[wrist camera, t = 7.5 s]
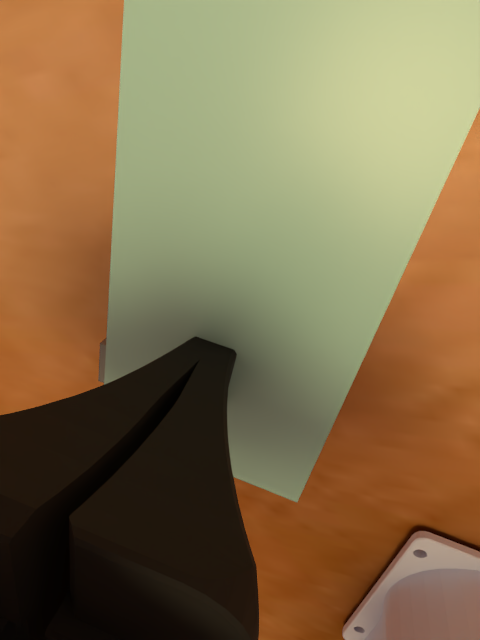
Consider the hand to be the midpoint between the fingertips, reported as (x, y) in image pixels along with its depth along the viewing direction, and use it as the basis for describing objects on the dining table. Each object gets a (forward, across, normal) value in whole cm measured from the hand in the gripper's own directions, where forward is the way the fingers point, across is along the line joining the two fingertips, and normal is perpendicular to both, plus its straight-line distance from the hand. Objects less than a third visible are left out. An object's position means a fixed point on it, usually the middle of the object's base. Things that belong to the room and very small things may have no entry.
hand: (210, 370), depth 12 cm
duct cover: (0, 0, -4) cm, 4 cm away
